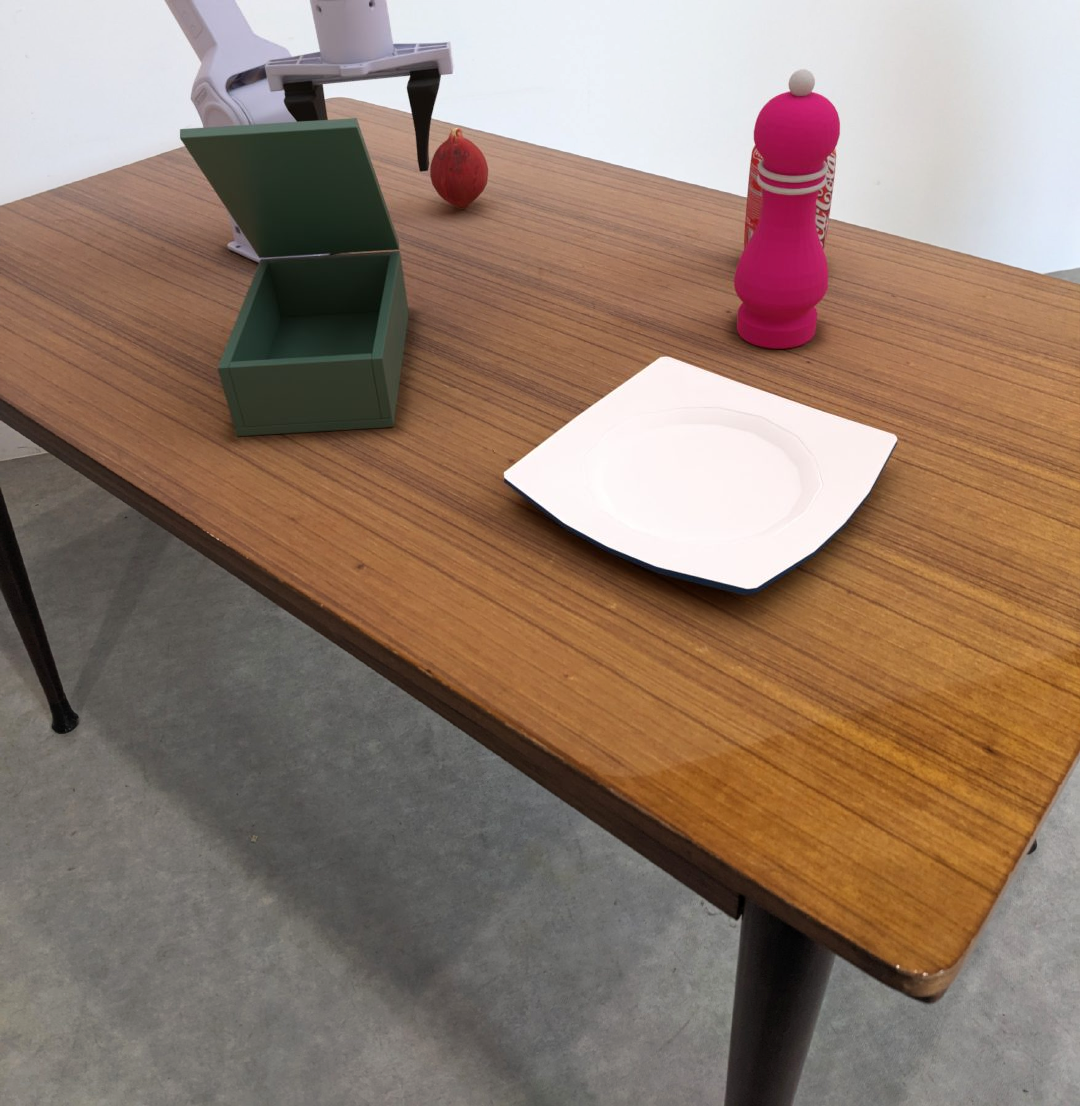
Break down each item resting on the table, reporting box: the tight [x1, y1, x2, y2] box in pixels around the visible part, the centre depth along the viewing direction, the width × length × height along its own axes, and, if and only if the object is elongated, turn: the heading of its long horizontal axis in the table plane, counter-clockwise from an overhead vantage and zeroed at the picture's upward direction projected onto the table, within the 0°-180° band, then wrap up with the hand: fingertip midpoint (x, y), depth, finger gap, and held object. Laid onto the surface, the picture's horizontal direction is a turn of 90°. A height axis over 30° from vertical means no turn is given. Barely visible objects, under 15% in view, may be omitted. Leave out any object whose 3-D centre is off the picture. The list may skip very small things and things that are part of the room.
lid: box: [179, 117, 400, 258], centre depth 78 cm, size 18×12×4 cm
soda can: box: [743, 145, 837, 251], centre depth 90 cm, size 7×7×12 cm
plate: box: [503, 356, 899, 596], centre depth 69 cm, size 20×20×3 cm
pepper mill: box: [733, 68, 841, 350], centre depth 79 cm, size 7×7×20 cm
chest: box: [217, 250, 410, 437], centre depth 82 cm, size 18×12×6 cm, turn 2°
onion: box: [429, 126, 489, 210], centre depth 105 cm, size 6×6×8 cm
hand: (379, 171), depth 88 cm, fingers open, 7 cm apart
